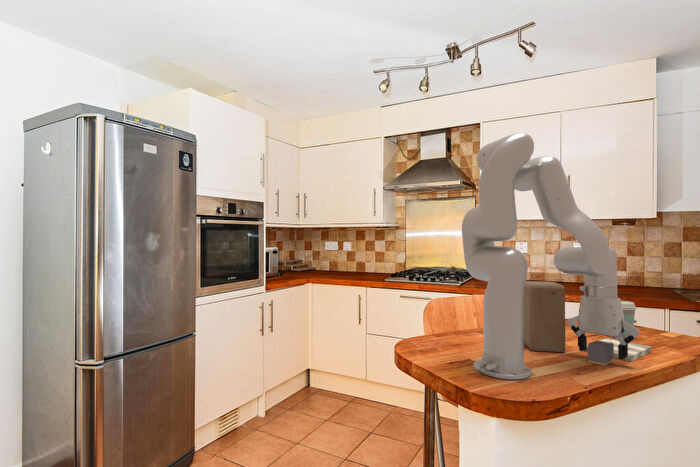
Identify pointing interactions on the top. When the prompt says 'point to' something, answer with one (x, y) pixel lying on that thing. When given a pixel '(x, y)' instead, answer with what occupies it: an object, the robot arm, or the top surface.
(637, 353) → the board
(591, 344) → the block
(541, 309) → the wooden block
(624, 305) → the coffee cup
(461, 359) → the top surface
